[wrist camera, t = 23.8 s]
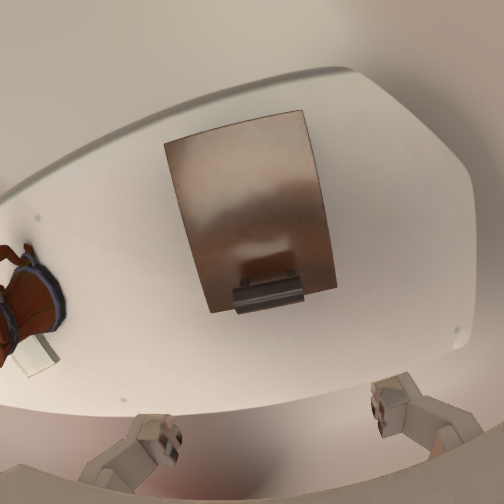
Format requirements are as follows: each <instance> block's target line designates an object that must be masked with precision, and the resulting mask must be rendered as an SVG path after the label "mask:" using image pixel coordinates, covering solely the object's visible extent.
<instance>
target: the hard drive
mask: <svg viewBox="0 0 504 504" xmlns="http://www.w3.org/2000/svg"><path fill="white" fill-rule="evenodd" d="M10 356H11V357H12V358H13V360H14V361H15V363H16V364H17V365H18V367H19V368H20V369H21V371H22V372H23V373H24V375H25V376H26V377H27V378H30V377H31V376H33V375H35V374H37V373H39V372H41V371H43V370H45V369H47V368H49V367H51V366H53V365H55V364H56V363H57V362H58V361H59V358H58V356H57V355H56V354H55V352H54V351H53V350H52V348H51V347H50V345H49V344H48V343H47V341H46V340H45V338H44V337H43V335H42V334H41V333H39V334H35V335H31V336H29V337H27V338H26V339H25V340H23V341H22V342H20V343H18V345H17V347H16V349H15V351H14V353H13V354H10Z"/></svg>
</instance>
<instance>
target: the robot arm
mask: <svg viewBox="0 0 504 504" xmlns="http://www.w3.org/2000/svg"><path fill="white" fill-rule="evenodd" d="M371 391H372V394H373V396H372V397H371V406H372V412H373V415H374V418H375V419H376V420H378V428H379V431H380V433H381V436H382V438H386V437H389V436H392V435H395V434H399V433H402V432H403V434H404V435H406V436H407V437H409V438H411V439H412V440H414V441H415V442H417V443H419V444H420V445H421V446H423V447H424V448H426V449H428V450H429V451H431V453H430V456H429V459H428V460H427V461H424V462H422V463H419V464H417V465H414V466H411V467H408V468H406V469H403V470H400V471H397V472H394V473H391V474H388V475H385V476H382V477H379V478H375V479H371V480H368V481H365V482H360V483H357V484H353V485H348V486H344V487H340V488H335V489H330V490H325V491H320V492H315V493H309V494H302V495H296V496H288V497H279V498H270V499H257V500H236V501H202V500H183V499H169V498H160V497H151V496H143V495H137V494H136V493H135V492H134V490H135V489H136V488H137V486H139V485H140V484H141V483H142V482H143V481H144V480H145V479H146V478H147V477H148V476H149V475H150V474H151V473H152V472H153V471H154V470H155V469H156V468H157V467H158V465H164V466H168V465H169V466H175V465H176V462H177V459H178V455H179V454H178V452H177V451H176V450H178V449H179V448H180V447H181V444H182V434H181V431H180V429H179V427H178V426H176V425H175V424H173V423H174V419H173V417H172V416H171V415H169V414H138V415H137V416H136V417H135V420H134V422H133V424H132V426H131V428H130V430H129V432H128V434H127V437H126V439H122V440H120V441H119V442H118V443H116V444H115V445H113V446H112V447H111V448H109V449H107V450H106V451H105V452H103V453H102V454H100V455H99V456H97V457H96V458H94V459H93V460H91V461H90V462H89V463H87V464H86V466H85V468H84V470H83V472H82V474H81V476H80V478H79V480H78V481H73V480H69V479H66V478H63V477H60V476H57V475H54V474H51V473H47V472H45V471H42V470H39V469H36V468H34V467H32V466H29V465H26V464H19V465H16V466H14V467H12V468H9V469H7V470H6V471H3V472H1V473H0V504H504V422H502V423H500V424H498V425H497V426H495V427H494V428H492V429H490V430H488V431H486V432H485V433H484V431H483V430H482V428H481V427H480V425H479V424H478V422H477V421H476V419H475V418H474V416H473V415H472V413H469V412H467V411H464V410H462V409H459V408H457V407H454V406H451V405H449V404H446V403H444V402H441V401H439V400H436V399H434V398H432V397H429V396H423V395H422V394H421V392H420V390H419V389H418V387H417V386H416V384H415V382H414V381H413V379H412V377H411V376H410V374H409V373H408V372H404V373H402V374H399V375H396V376H393V377H390V378H387V379H383V380H381V381H377V382H374V383H372V384H371Z"/></svg>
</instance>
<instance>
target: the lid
mask: <svg viewBox="0 0 504 504" xmlns="http://www.w3.org/2000/svg"><path fill="white" fill-rule="evenodd" d="M164 148H165V152H166V156H167V161H168V165H169V169H170V173H171V177H172V181H173V185H174V189H175V193H176V197H177V200H178V204H179V208H180V212H181V215H182V219H183V223H184V226H185V230H186V234H187V237H188V241H189V244H190V248H191V251H192V255H193V258H194V262H195V265H196V268H197V272H198V275H199V278H200V282H201V285H202V288H203V291H204V295H205V298H206V301H207V304H208V307H209V310H210V313H216V312H221V311H227V310H232V309H235V310H236V312H237V314H244V313H250V312H255V311H260V310H265V309H270V308H275V307H280V306H285V305H290V304H294V303H299V302H304V295H306V294H311V293H315V292H320V291H324V290H329V289H333V288H337V281H336V274H335V267H334V261H333V254H332V248H331V242H330V236H329V230H328V225H327V219H326V214H325V208H324V203H323V198H322V193H321V188H320V183H319V178H318V174H317V169H316V164H315V160H314V156H313V151H312V147H311V143H310V138H309V134H308V130H307V126H306V122H305V118H304V114H303V110H296V111H291V112H286V113H280V114H275V115H270V116H266V117H261V118H256V119H252V120H247V121H243V122H239V123H235V124H231V125H227V126H223V127H219V128H215V129H212V130H208V131H204V132H201V133H197V134H194V135H190V136H187V137H184V138H180V139H177V140H174V141H171V142H168V143H165V144H164Z"/></svg>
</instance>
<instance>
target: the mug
mask: <svg viewBox="0 0 504 504" xmlns="http://www.w3.org/2000/svg"><path fill="white" fill-rule="evenodd" d="M24 249H25V252H26V253H23V254H22V256H21V258H18V256H17V255H16V254H15V252H14V251H13V250H12V249H11V248H10V247H9V246H8V245H0V262H1V261H2V260H4V259H6V258H7V259H8V260H9V261H10V262H11V263H13V264H14V265H17V266H19V267H17V268H16V269H15V270H14V272H13V275H12V277H11V280H10V283H9V285H8V286H7V287H6V289H5V288H4V286H2V285H0V368H2V366H3V364H4V362H5V360H6V358H7V356H8V355H10V354H13V353H14V351H15V349H16V347H17V345H18V343H20V342H22V341H23V340H25V339H26V338H27V337H29V336H31V335H35V334H39V333H41V334H43V333H48V332H55V331H56V330H57V328H58V327H59V326H60V324H61V323H62V321H63V320H64V319H65V310H64V299H63V296H62V293H61V290H60V288H59V285H58V282H57V281H56V280H55V279H54V277H53V276H52V275H51V274H50V273H49V272H48V270H47V269H46V268H45V267H43V266H41V265H38V264H36V263H35V262H34V259H33V250H32V247H31V246H30V245H28V244H26V243H25V244H24Z"/></svg>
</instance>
